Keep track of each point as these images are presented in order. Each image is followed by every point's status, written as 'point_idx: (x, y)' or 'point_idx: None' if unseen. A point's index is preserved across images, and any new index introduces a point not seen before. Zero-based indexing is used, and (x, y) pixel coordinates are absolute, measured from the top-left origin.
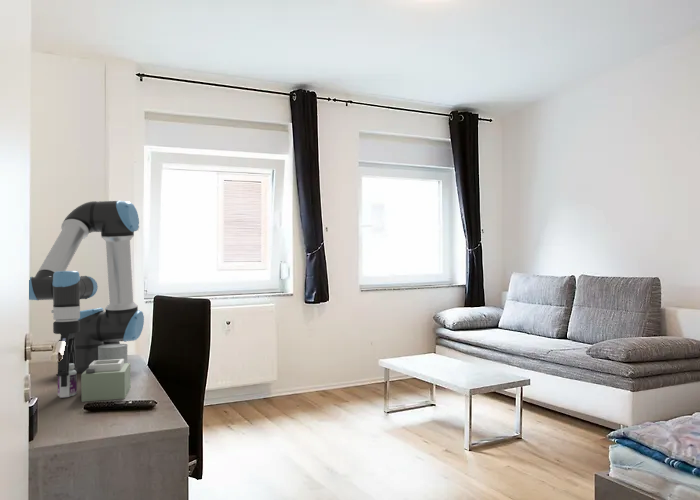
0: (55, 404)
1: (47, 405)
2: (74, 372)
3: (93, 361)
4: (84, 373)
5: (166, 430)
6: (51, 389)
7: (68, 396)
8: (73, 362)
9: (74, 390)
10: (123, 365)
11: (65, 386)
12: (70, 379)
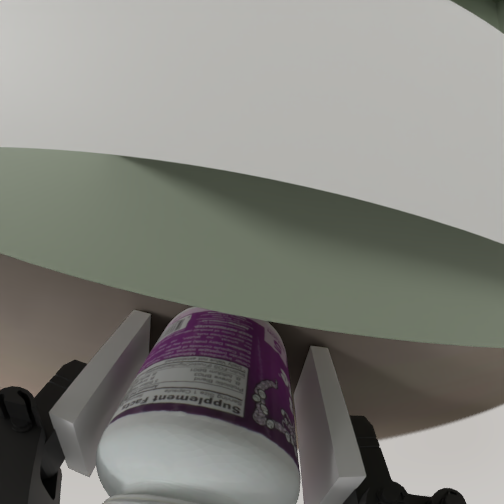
0: (445, 390)
1: (436, 416)
2: (255, 460)
3: (309, 137)
4: None
5: None
6: (36, 393)
7: (326, 354)
8: (17, 501)
9: (265, 333)
10: None
11: (363, 421)
12: (293, 431)
